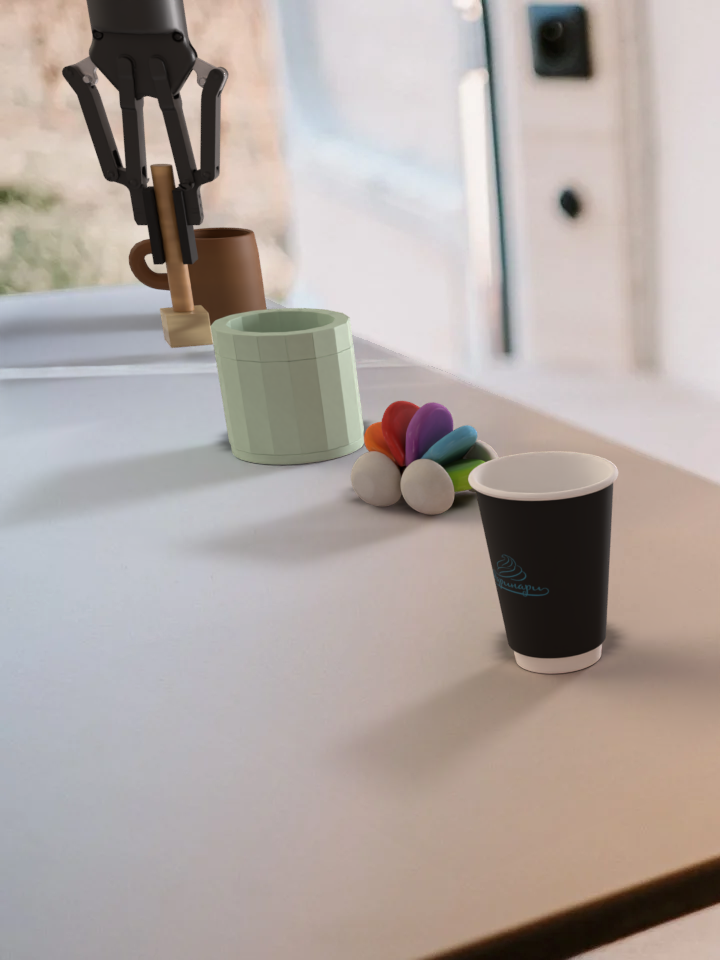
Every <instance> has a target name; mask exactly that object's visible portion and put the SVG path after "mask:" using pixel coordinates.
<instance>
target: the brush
mask: <svg viewBox="0 0 720 960" xmlns="http://www.w3.org/2000/svg"><path fill="white" fill-rule="evenodd" d="M173 166H174V165H173V164H171V163H153V164H150V165H149V167H150V174H151V180H152V186H153V187H154V193H155V200H156V206H157V212H158V218H159V225H160V231H161V237H162V244H163V250H164V256H165V263H164V264H165V268H166V273H167V275H168V282H169V288H170V291H169V294H170V299H171V306H172V307H170V306H169V307H160V308H159V313H160V319H161V326H162V333H163V338H164V341H165V343H167V345H168V346H169V348H171V349H178V348H179V349H180V348H188V347H189V348H191V347H200V346H202V347H203V346H212V345H214V344H213V338H212V332H211V326H210V320H209V314H208V312H207V311H206V310H205V309H204V308H203V307H202V306H201V305H196V306H194V303H193V296H192V290H191V283H190V277H189V270H188V264H183V258H182V252H181V246H180V239H179V233H178V226H177V220H176V213H175V207H174V201H173V194H172V190H174V189H176V188H177V185H176V179H175V173H174V167H173Z"/></svg>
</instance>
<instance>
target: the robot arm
mask: <svg viewBox="0 0 720 960" xmlns="http://www.w3.org/2000/svg"><path fill="white" fill-rule="evenodd" d="M86 6H87V13H88V18H89V24H90V31H91V35H92V39H91V44H90V46H89V49H88V56H87V57H85V58H84V59H82V60H80V61H78V62H76V63H73V64H69V65H66V66H64V67H63V68H62V70H61V75H62V77H63V78H64V79H65V81H66V82H67V83H68V85H69V86H70V87H71V89H72V90H73V92H74V93H75V94H76V97H77V101H78V103H79V106H80V108H81V112H82V114H83V118H84V120H85V123H86V127H87V130H88V133H89V136H90V139H91V142H92V145H93V149H94V151H95V155H96V158H97V161H98V163H99V166H100V169H101V172H102V176H103V177H104V179H105V180H106V181H107V182H109V183H110V182H111V183H117V184H119V185H122V186H124V187H126V188H127V190H128V191H129V196H130V203H131V209H132V213H133V220H134V222H135V224H136V225H137V226H147V232H148V239H150V245H151V251H152V254H151V256H152V257H151V258H152V263H153V265H156V266H157V265H164V264H166V263H165V256H164V250H163V244H162V237H161V231H160V225H159V218H158V212H157V206H156V200H155V193H154V187H153V185H148V183H149V182H150V177H148V164H147V163H148V162H147V149H146V147H147V146H146V133H145V117H144V105H145V98H146V97H150V98H153V99H156V100H157V102H158V106H159V109H160V111H161V113H162V117H163V121H164V122H163V123H164V125H165V129H166V130H165V131H166V133H167V138H168V141H169V146H170V149H171V154H172V159H173V162H174V166H175V170H176V174H177V178H178V182H179V183H178V184H177V186H176V189H174V190H172V194H173V201H174V207H175V213H176V220H177V226H178V233H179V239H180V246H181V252H182V258H183V264H193V263H194V262H195V261H196V260H198V254H197V248H196V241H195V234H194V229H195V228H194V226H201V225H202V224H203V222H204V218H205V215H204V214H205V213H204V208H203V201H202V194H201V187H202V186H203V185H205V184H208V183H212V182H214V181H215V180H216V179H218V177H219V176H220V174H221V121H222V118H221V117H222V116H221V115H222V114H221V113H222V112H221V111H222V110H221V109H222V94H223V90H224V88H225V86H226V84H227V81H228V79H229V72H228V69H226V68H225V67H223V66H215V65H214V64H212V63H209V62H207V61H205V60H203V59H202V58H199V57H198V52H197V50H196V48H195V47H194V46H193V44H192V42H191V40H190V37H189V31H188V24H187V17H186V12H185V5H184V0H86ZM97 70H98V71H100V73H101V74H102V75H103V76H104V77H105V78H106V79H107V80H108V82H109V83H110V84H111V85H112V86H113V87H114V88H115V89H116V90H117V92H118V98H119V108H120V110H121V119H122V121H121V122H122V136H123V148H124V164H123V161H122V158H121V155H120V153H119V149H118V145H117V143H116V140H115V136H114V134H113V130H112V127H111V124H110V120H109V119H108V115H107V112H106V109H105V106H104V103H103V99H102V96H101V94H100V91H99V89H98V87H97V84H98V82H99V76H98V74H97ZM193 72H195V74H196V83H197V85H198V86H199V87H200V88H202V90H201V95H200V148H199V149H200V151H199V152H200V153H199V154H200V156H199V158H200V159H199V169H198V167H197V162H196V159H195V155H194V150H193V146H192V142H191V138H190V134H189V130H188V126H187V122H186V118H185V113H184V109H183V100H182V95H181V90H182V89H183V87H184V85H185V84H186V82H187V80H188V79H189V77H190V76H191V73H193ZM124 165H125V167H124Z"/></svg>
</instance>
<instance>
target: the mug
mask: <svg viewBox="0 0 720 960" xmlns="http://www.w3.org/2000/svg"><path fill="white" fill-rule="evenodd" d="M194 234H195V241H196V248H197V254H198V260H196V261H195V262H194V263H193V264H188V270H189V277H190V283H191V290H192V296H193V303H194V306H196V305H201V306H202V307H203V308H204V309H205V310H206V311H207V312H208V314H209V320H210V327H211V325H212V324H213V323H214V321H215V320H218V319H220V318H223V317H226V316H229V315H233V314H239V313H244V312H249V311H256V310H267V309H268V308H267V302H266V295H265V287H264V280H263V274H262V265H261V259H260V253H259V247H258V243H257V239H256V235H255V232H254V231H253V230H252V229H249V228H241V227H224V226H223V227H202V228H194ZM148 255H152V251H151V245H150V238H146V239H143V240H140V241H138V242H136V243H135V244H134V245H133V246H132V247H131V249H130V251H129V254H128V265H129V268H130V270H131V272H132V275H133V276H134V277H135V278H136V279H137V280H138V282H140V283H142V284H143V285H144V286H146V287H148V288H150V289H154V290H159V291H168V292H170V288H169V282H168V275H167V272H156V271H154V270H153V269H151V268H150V266H149V265H148V263H147V261H146V257H147V256H148Z"/></svg>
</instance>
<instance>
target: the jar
mask: <svg viewBox="0 0 720 960" xmlns="http://www.w3.org/2000/svg"><path fill="white" fill-rule="evenodd" d="M210 327H211V334H212V340H213V344H212V345H213V350H214V358H215V363H216V369H217V376H218V382H219V388H220V395H221V400H222V401H221V402H222V407H223V412H224V419H225V426H226V432H227V437H228V443H229V444H230V449H231V453H232V455H233V457H235V458H237V459H238V460H241V461H244V462H249V463H253V464H259V465H270V466H271V465H272V466H273V465H275V466H276V465H277V466H283V465H284V466H285V465H286V466H289V465H291V466H292V465H302V464H304V465H305V464H310V463H313V464H314V463H319V462H325V461H329V460H334V459H338V458H342V457H345V456H348V455H350V454H353V453H354V452H356V451H358V450H360V449H361V448H362V447H363V446H364V445H365V443H364V433H365V427H364V426H365V425H364V419H363V412H362V404H361V395H360V386H359V380H358V372H357V362H356V355H355V347H354V340H353V333H352V332H353V331H352V324H351V317H350V316H348V315H347V314H345V313H343V312H340V311H335V310H332V309H331V310H330V309H323V308H309V307H290V308H288V307H286V308H285V307H284V308H283V307H282V308H269V309H268V308H267V310H256V311H249V312H244V313H239V314H233V315H229V316H226V317H223V318H220V319H218V320H215V321H214V323H213V324H212V325H211V326H210Z"/></svg>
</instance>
